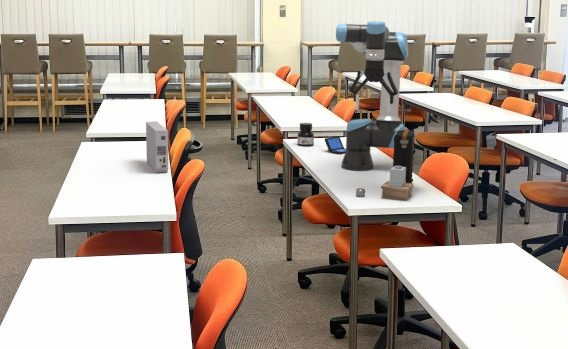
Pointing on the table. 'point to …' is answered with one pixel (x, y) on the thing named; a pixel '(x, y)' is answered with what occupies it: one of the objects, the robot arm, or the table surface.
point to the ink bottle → (305, 135)
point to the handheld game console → (335, 145)
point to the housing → (397, 176)
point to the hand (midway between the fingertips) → (372, 110)
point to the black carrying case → (404, 151)
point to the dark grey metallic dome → (360, 192)
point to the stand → (396, 191)
